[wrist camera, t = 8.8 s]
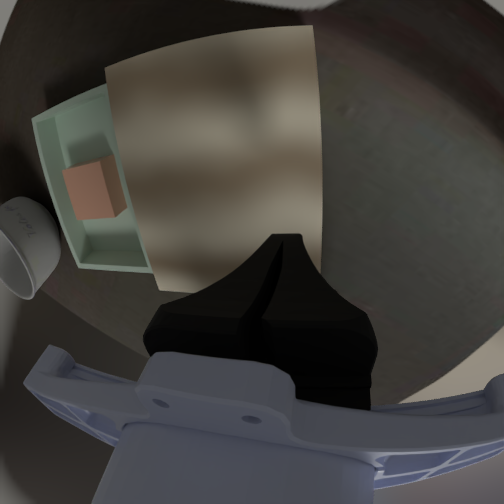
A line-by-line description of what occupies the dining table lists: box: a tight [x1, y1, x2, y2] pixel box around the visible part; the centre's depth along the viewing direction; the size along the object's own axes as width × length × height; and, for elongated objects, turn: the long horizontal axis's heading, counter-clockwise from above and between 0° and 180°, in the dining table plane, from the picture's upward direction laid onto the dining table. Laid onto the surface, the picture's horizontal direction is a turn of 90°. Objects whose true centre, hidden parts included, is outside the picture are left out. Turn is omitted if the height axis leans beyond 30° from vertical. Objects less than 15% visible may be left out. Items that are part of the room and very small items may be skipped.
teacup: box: [0, 197, 61, 299], centre depth 25 cm, size 14×11×8 cm
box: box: [32, 83, 153, 273], centre depth 22 cm, size 16×10×3 cm, turn 6°
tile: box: [62, 154, 127, 220], centre depth 22 cm, size 5×5×2 cm
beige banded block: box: [105, 26, 322, 293], centre depth 19 cm, size 18×13×4 cm
